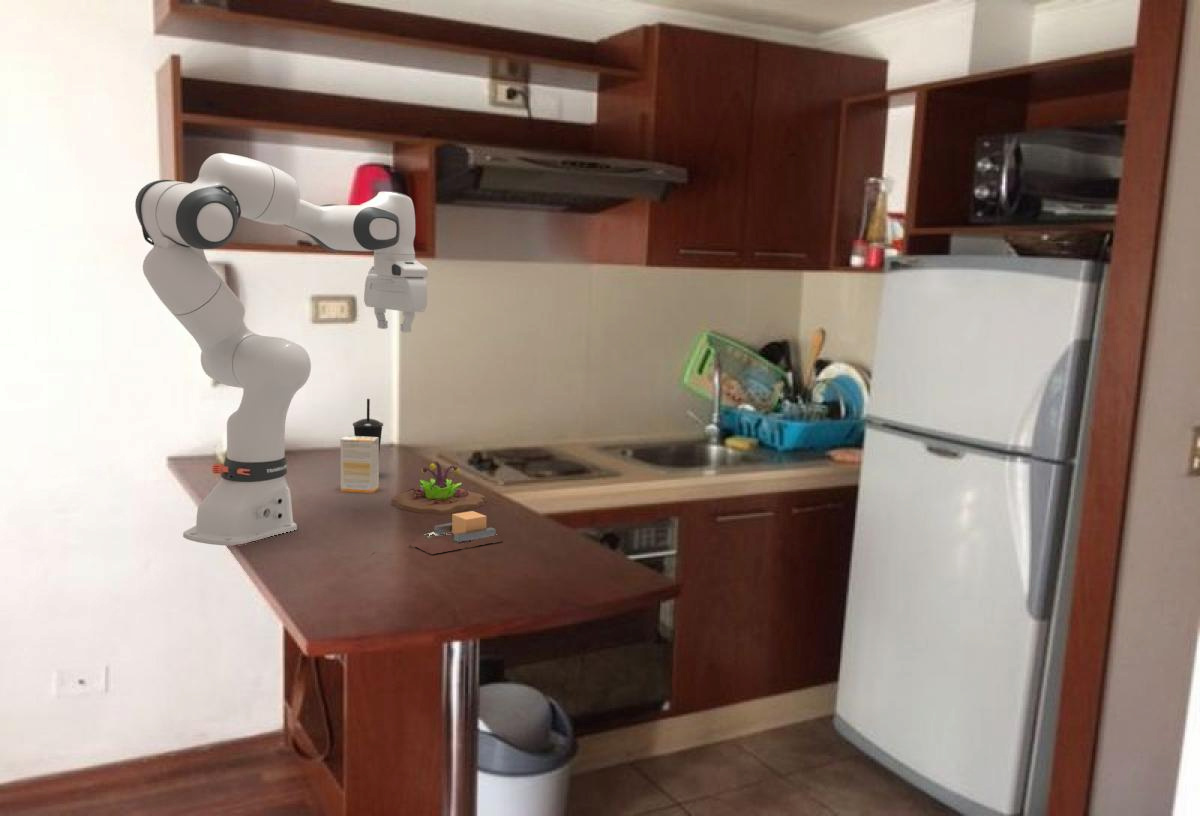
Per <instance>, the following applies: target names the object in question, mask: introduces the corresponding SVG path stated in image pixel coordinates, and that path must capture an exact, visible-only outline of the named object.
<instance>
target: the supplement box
mask: <svg viewBox="0 0 1200 816" xmlns="http://www.w3.org/2000/svg"><path fill="white" fill-rule="evenodd" d="M339 450H340V492H349V493H350V492H351V493H365V494H366V493H369V494H374V493H375V492H376V491H378V490H379V489H380V488H379V485H380V484H379V483H380V481H379V480H380V475H379V474H380V467H379V461H380V459H379V458H380V452H379V437H364V436H355V435H345V436H343V437H341V438H340V449H339Z"/></svg>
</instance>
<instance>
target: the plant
mask: <svg viewBox="0 0 1200 816" xmlns="http://www.w3.org/2000/svg"><path fill="white" fill-rule="evenodd" d="M451 469H453V472H454V473H455V474H457V475H458V474H459V473H460V468H459V467H457V466H455V465H449V466H448V467H447V468H446V469H445V470H444V472H442V467H441V464H440V463H439V462H438V461H433V462H432V463H430V465H429V467H423V468H422V469H421V473H422V474H423V475H426V474H427V473H428V472H429V473H430V474H431V475H432V476H433V478H430V482H429V481H428V480H424V479H420V480H419V481H420V483H421V484H422V485H419V487H420V488H417V489H415V488H410V489H409V490H408V491H407V490H406V492H405V491H404V492H401V493H398V494H396V495H394V496H393V497H392V498H391V499H390V501H391V502H390V503H391V504H390V505H392V506H394V507H397V509H399V510H402V511H407V512H413V513H417V514H433V515H434V514H435V515H439V516H440V515H442V516H443V515H449V514H455V513H460V512H463V511H464V512H465V511H466V510H471V509H479V507H482V505H483V506H484V503H486V502H487V499H486V497H485V495H483V494H482V493H481V494H480V493H477V492H472V491H469V490H467V489H463V488H459V487H460V486H461V485H462V484H463V483H462V482H458V483H456V484H455V483H452V482H453V480H452V479H448V474H449V471H450V470H451ZM434 470H437V472H435V471H434ZM451 484H452V485H451ZM485 501H486V502H485Z"/></svg>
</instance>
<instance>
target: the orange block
mask: <svg viewBox="0 0 1200 816" xmlns="http://www.w3.org/2000/svg"><path fill="white" fill-rule="evenodd" d="M451 514H452V515H451V517H452V518H451V519H452V520H451V523H452V533H453V535H454V534H457V533H462V532H468V531H474V530H479V529H485V528H487V515H485V514H482V513H479V512H476V511H474V510H470V511H464V512H463V511H462V512H456V513H451Z"/></svg>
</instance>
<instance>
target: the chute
mask: <svg viewBox="0 0 1200 816" xmlns="http://www.w3.org/2000/svg"><path fill="white" fill-rule="evenodd" d="M433 529H434V531H430V532H429V531H428V532H425V533H423V534H424V535H426V534H429V536H428V537H431V536H430V535H432V534H434V535H435V536H441V535H440V534H445V533H446V535H448V534H447V533H451V532H452V522H447V523H442V524H435V525H434V528H433ZM496 532H497V531H496V528H494V527H491V526H490V527H486V528H485V529H479V530H474V531H468V532H462V533H457V534H453V535H454V536H453V542H455V541H457V542H456V543H458V542H459V543H463V542H462V541H465V542H469V540H471V541H472V540H473V539H478V538H485V537H489V536H494V535H495V534H497V533H496Z"/></svg>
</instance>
